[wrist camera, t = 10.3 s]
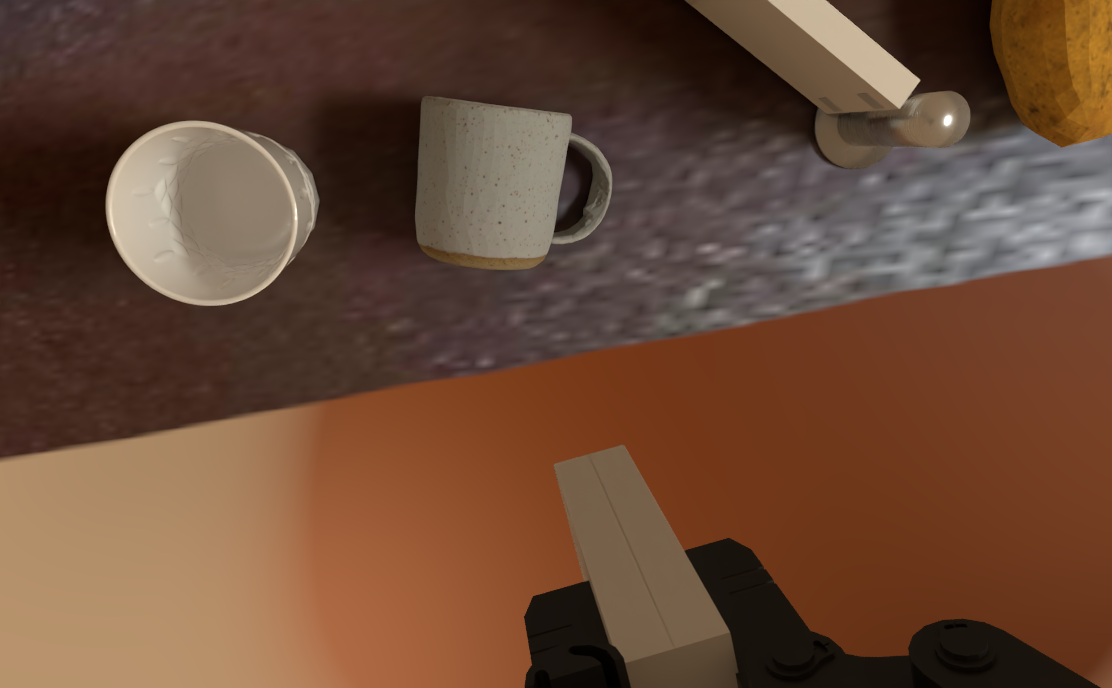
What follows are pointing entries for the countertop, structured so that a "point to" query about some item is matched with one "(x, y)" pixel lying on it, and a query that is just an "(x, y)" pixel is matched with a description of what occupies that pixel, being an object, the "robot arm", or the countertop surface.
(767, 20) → the gate
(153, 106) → the countertop surface
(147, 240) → the white cup
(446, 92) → the countertop surface
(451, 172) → the ceramic mug
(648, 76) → the countertop surface
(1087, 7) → the potato
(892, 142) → the gate posts
